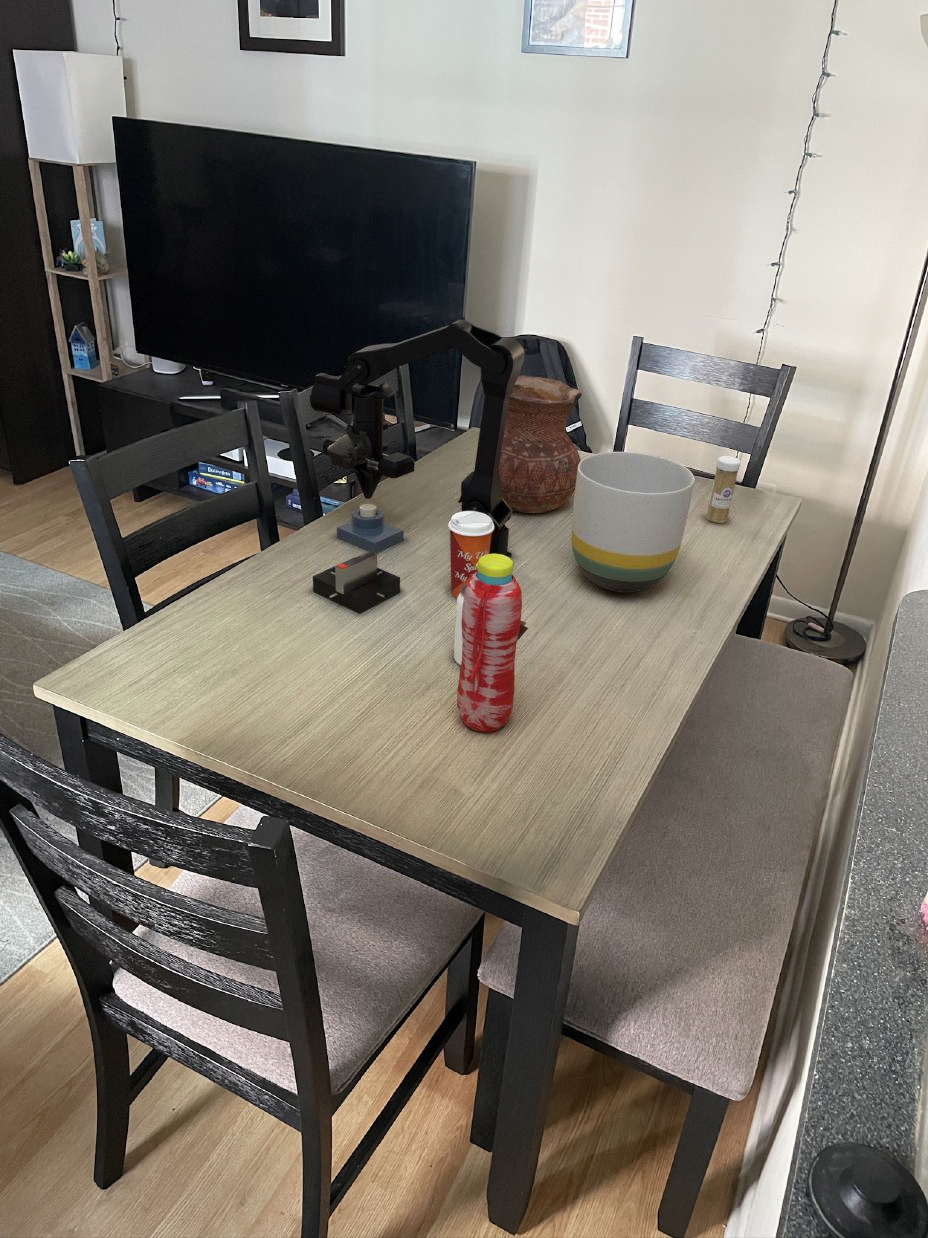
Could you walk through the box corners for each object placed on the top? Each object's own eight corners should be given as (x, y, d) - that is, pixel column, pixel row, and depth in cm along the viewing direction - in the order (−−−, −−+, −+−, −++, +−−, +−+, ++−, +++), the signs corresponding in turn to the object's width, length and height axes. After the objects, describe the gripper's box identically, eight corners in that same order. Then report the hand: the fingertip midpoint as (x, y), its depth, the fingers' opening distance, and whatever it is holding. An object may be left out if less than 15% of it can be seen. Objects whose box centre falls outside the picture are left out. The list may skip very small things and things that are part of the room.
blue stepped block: (407, 538, 172) (407, 519, 170) (374, 553, 166) (374, 534, 164) (367, 522, 178) (367, 504, 176) (334, 536, 172) (334, 517, 170)
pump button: (379, 515, 173) (379, 506, 172) (368, 520, 170) (368, 511, 169) (367, 510, 174) (367, 502, 173) (356, 515, 172) (356, 506, 171)
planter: (545, 567, 165) (557, 457, 154) (634, 553, 172) (652, 447, 161) (599, 617, 149) (617, 499, 139) (695, 600, 157) (718, 486, 146)
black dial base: (411, 597, 152) (411, 581, 151) (357, 626, 143) (357, 609, 142) (354, 572, 159) (354, 556, 158) (299, 598, 150) (298, 581, 149)
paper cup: (457, 607, 150) (461, 531, 143) (437, 587, 156) (440, 513, 149) (498, 598, 153) (504, 524, 146) (476, 579, 159) (481, 506, 152)
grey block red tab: (369, 574, 152) (369, 549, 150) (377, 578, 151) (377, 553, 149) (335, 590, 147) (335, 565, 144) (343, 594, 146) (342, 568, 143)
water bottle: (480, 685, 130) (491, 529, 118) (530, 701, 128) (547, 543, 115) (441, 728, 121) (449, 564, 108) (494, 747, 118) (509, 581, 106)
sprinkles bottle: (714, 525, 185) (727, 463, 179) (701, 516, 189) (713, 456, 182) (732, 522, 187) (745, 461, 180) (718, 514, 191) (731, 454, 184)
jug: (594, 499, 194) (609, 385, 182) (549, 531, 179) (562, 409, 166) (506, 475, 204) (514, 366, 191) (456, 503, 188) (462, 386, 176)
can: (491, 674, 133) (497, 604, 127) (449, 667, 134) (453, 597, 128) (499, 651, 139) (504, 583, 133) (458, 645, 140) (462, 577, 134)
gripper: (299, 416, 162) (303, 496, 170) (374, 441, 152) (374, 524, 160) (343, 403, 170) (344, 480, 177) (417, 426, 160) (415, 507, 168)
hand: (368, 498), depth 170 cm, fingers closed
